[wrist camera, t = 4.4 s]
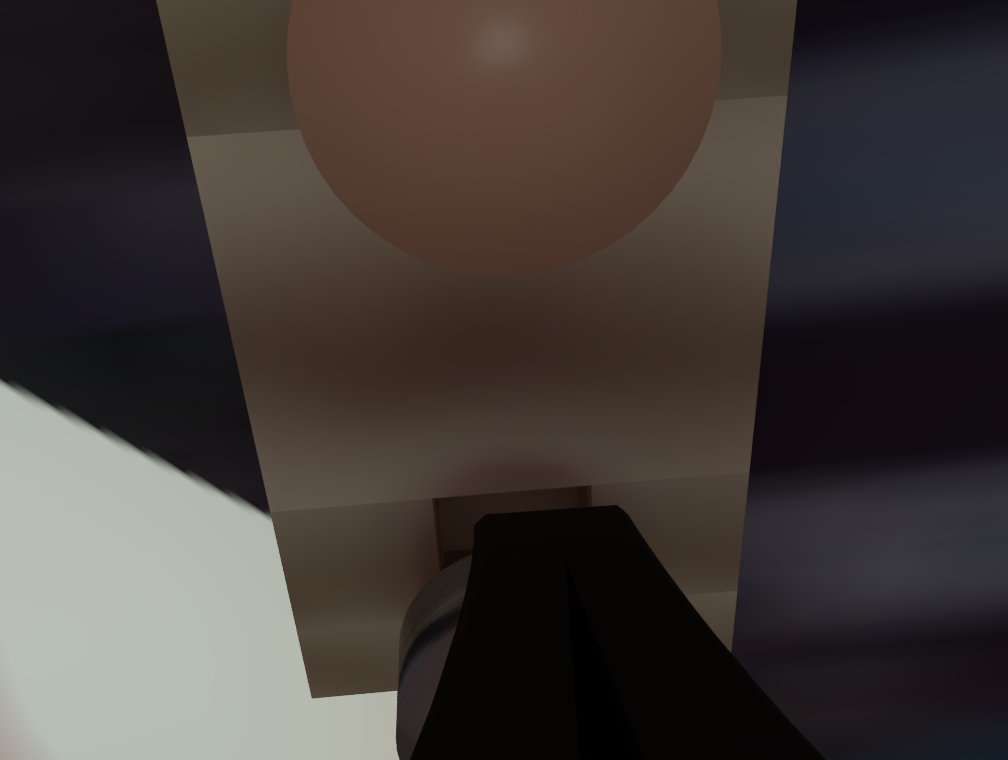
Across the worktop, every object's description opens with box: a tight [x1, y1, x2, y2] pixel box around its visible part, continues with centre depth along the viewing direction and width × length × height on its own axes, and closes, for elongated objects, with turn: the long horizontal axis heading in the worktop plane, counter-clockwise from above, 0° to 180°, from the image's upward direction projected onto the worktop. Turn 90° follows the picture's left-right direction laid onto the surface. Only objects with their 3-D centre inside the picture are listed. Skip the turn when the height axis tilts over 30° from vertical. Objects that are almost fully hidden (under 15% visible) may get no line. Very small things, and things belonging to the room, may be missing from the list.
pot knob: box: [287, 0, 721, 275], centre depth 11 cm, size 4×4×4 cm
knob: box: [396, 555, 472, 760], centre depth 16 cm, size 4×4×4 cm
